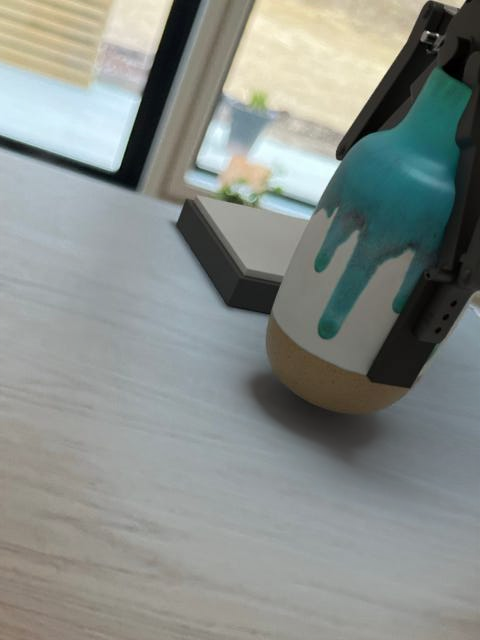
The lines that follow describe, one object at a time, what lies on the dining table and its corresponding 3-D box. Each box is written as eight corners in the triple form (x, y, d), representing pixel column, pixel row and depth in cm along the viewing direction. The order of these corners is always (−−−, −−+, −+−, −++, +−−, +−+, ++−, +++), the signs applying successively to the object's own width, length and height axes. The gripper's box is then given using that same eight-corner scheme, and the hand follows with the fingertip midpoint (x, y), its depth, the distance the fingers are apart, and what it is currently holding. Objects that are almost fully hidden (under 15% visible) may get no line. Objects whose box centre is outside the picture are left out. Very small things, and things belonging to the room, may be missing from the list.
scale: (331, 257, 91) (346, 226, 89) (398, 338, 81) (417, 305, 80) (175, 224, 87) (188, 190, 85) (227, 305, 77) (243, 270, 75)
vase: (294, 440, 62) (470, 107, 50) (214, 346, 69) (351, 30, 56) (426, 444, 67) (619, 137, 54) (339, 355, 73) (492, 63, 61)
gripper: (400, -146, 57) (238, 240, 72) (646, -36, 41) (373, 431, 56) (512, -108, 59) (332, 259, 74) (786, 10, 43) (488, 448, 58)
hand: (350, 333), depth 65 cm, fingers closed on vase, 11 cm apart
